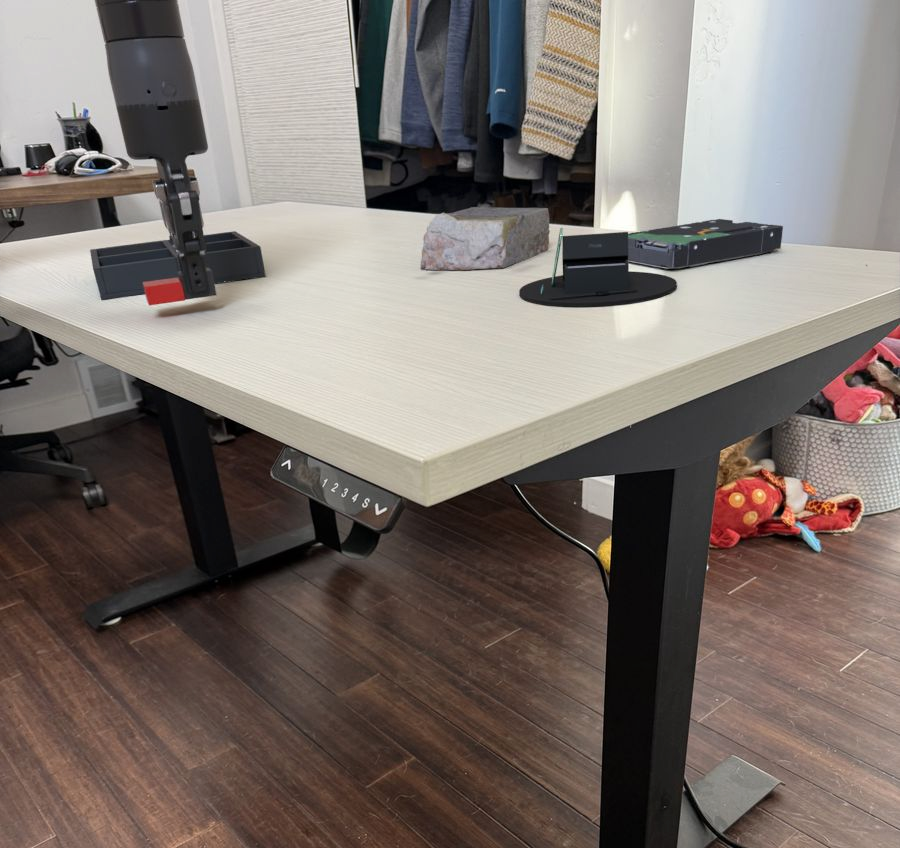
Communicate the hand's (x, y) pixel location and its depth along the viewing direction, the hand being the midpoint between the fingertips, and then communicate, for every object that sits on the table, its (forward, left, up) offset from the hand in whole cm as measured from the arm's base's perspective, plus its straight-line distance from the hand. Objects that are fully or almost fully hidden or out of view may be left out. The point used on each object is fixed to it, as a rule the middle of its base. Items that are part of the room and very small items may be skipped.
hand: (198, 292), depth 88 cm
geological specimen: (+35, +6, -2) cm, 36 cm away
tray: (0, +26, -2) cm, 26 cm away
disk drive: (+53, -11, -2) cm, 54 cm away
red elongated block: (-1, 0, 0) cm, 2 cm away
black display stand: (+36, -19, -2) cm, 40 cm away
